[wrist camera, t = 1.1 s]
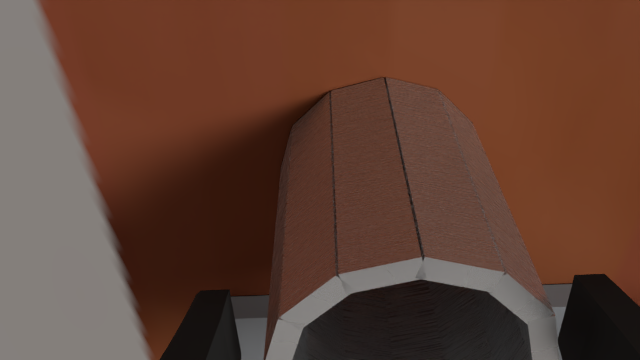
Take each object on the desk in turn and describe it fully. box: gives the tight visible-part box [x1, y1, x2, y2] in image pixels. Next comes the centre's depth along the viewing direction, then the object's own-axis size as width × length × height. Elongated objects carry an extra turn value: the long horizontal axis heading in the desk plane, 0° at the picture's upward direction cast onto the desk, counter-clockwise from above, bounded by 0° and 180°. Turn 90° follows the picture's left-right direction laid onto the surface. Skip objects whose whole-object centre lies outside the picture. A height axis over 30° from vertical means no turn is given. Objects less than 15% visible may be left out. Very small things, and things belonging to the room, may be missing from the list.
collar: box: [264, 77, 559, 360], centre depth 15 cm, size 6×6×7 cm
